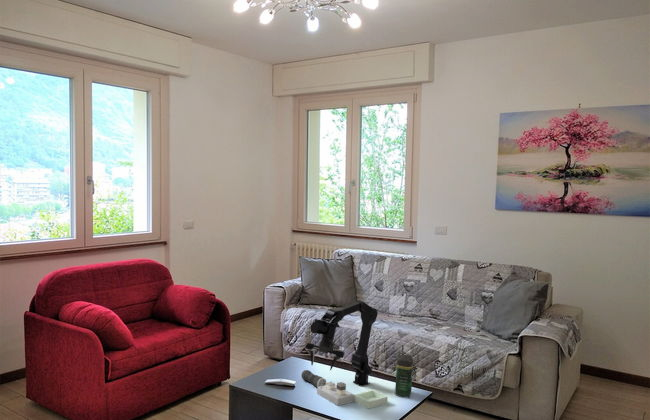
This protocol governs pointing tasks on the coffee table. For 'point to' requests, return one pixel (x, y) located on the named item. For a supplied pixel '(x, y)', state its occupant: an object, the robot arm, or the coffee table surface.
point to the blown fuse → (341, 388)
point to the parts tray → (370, 399)
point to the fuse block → (335, 395)
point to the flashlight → (313, 378)
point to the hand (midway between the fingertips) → (321, 367)
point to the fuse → (330, 385)
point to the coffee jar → (404, 376)
